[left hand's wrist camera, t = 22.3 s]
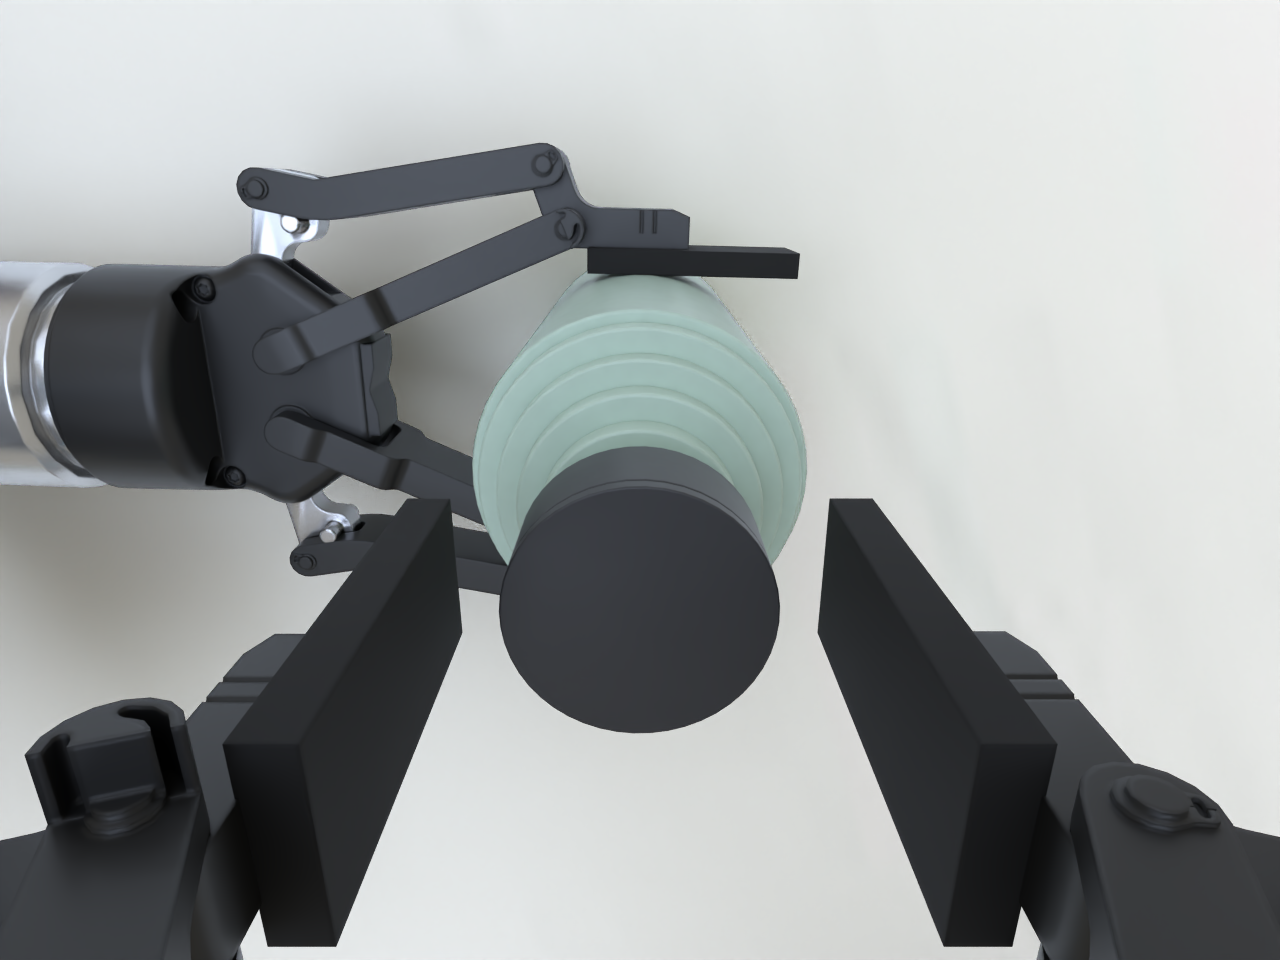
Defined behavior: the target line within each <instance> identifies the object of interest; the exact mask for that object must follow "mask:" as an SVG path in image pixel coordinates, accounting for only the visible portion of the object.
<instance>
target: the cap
mask: <svg viewBox="0 0 1280 960" xmlns="http://www.w3.org/2000/svg"><path fill="white" fill-rule="evenodd" d="M779 615H780V602H779V593H778V587H777V583H776V580H775V576H774V572H773V569H772V567H771V564H770V561H769V558H768V555H767V552H766V549H765V547H764V544H763V541H762V538H761V535H760V532H759V529H758V527H757V524H756V521H755V519H754V517H753V514H752V512H751V510H750V508H749V507H748V505H747V503H746V502H745V500H744V498H743V497H742V496H741V494H740V493H739V492H738V491H737V489H736V488H735V487H734V486H733V485H732V484H731V483H730V482H729V481H728V480H727V479H726V478H725V477H724V476H723V475H721V474H720V473H719V472H717V471H716V470H714V469H713V468H712V467H710V466H709V465H707V464H705V463H703V462H701V461H699V460H697V459H696V458H694V457H691V456H688V455H686V454H683V453H680V452H677V451H673V450H668V449H664V448H657V447H648V446H633V447H622V448H615V449H610V450H606V451H603V452H599V453H596V454H593V455H591V456H588V457H586V458H584V459H581V460H579V461H578V462H576V463H574V464H572V465H571V466H569V467H567V468H566V469H564V470H563V471H562V472H561V473H559V474H558V475H557V476H555V477H554V478H553V479H552V480H551V481H550V482H549V483H548V484H547V485H546V486H545V487H544V488H543V489H542V490H541V492H540V493H539V495H538V496H537V497H536V499H535V500H534V501H533V503H532V505H531V507H530V509H529V510H528V512H527V514H526V516H525V519H524V522H523V525H522V527H521V530H520V533H519V536H518V539H517V542H516V544H515V547H514V550H513V553H512V556H511V559H510V561H509V564H508V567H507V570H506V573H505V576H504V578H503V583H502V588H501V592H500V603H499V617H500V627H501V631H502V636H503V640H504V643H505V646H506V648H507V651H508V653H509V656H510V658H511V660H512V662H513V663H514V665H515V667H516V669H517V670H518V672H519V674H520V675H521V676H522V677H523V679H524V680H525V681H526V683H527V684H528V685H529V686H530V687H531V688H532V689H533V690H534V691H535V692H536V693H537V694H538V695H539V696H540V697H541V698H542V699H543V700H545V701H546V702H547V703H549V704H550V705H551V706H552V707H554V708H555V709H557V710H559V711H560V712H562V713H564V714H565V715H567V716H569V717H571V718H573V719H576V720H578V721H580V722H582V723H585V724H588V725H591V726H594V727H597V728H601V729H606V730H611V731H616V732H626V733H654V732H662V731H669V730H673V729H677V728H681V727H685V726H688V725H691V724H694V723H696V722H699V721H702V720H704V719H706V718H708V717H710V716H712V715H714V714H716V713H717V712H719V711H720V710H722V709H723V708H725V707H726V706H728V705H729V704H731V703H732V702H733V701H734V700H736V699H737V698H738V697H739V696H740V695H741V694H743V693H744V691H745V690H746V689H747V688H748V687H749V686H750V685H751V684H752V683H753V682H754V680H755V679H756V677H757V676H758V675H759V673H760V672H761V670H762V669H763V667H764V665H765V663H766V662H767V660H768V658H769V656H770V654H771V651H772V648H773V645H774V643H775V640H776V636H777V631H778V626H779Z"/></svg>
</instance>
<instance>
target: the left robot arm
mask: <svg viewBox="0 0 1280 960" xmlns="http://www.w3.org/2000/svg"><path fill="white" fill-rule="evenodd" d="M461 635H462V623H461V612H460V601H459V590H458V579H457V568H456V557H455V546H454V535H453V524H452V512H451V501H450V499H407V500H406V501H405V503H404V504H403V505H402V507H401V508H400V509H399V511H398V512H397V513H396V515H395V516H394V517H393V518H392V520H391V521H390V522H389V524H388V525H387V526H386V528H385V529H384V530H383V532H382V533H381V534H380V536H379V537H378V538H377V540H376V541H375V542H374V544H373V545H372V546H371V548H370V549H369V550H368V552H367V553H366V554H365V556H364V557H363V558H362V560H361V561H360V562H359V564H358V565H357V566H356V568H355V569H354V570H353V572H352V573H351V574H350V575H349V577H348V578H347V579H346V581H345V582H344V583H343V585H342V586H341V587H340V589H339V590H338V591H337V593H336V594H335V595H334V597H333V598H332V599H331V601H330V602H329V603H328V605H327V606H326V607H325V609H324V610H323V611H322V613H321V614H320V615H319V617H318V618H317V619H316V621H315V622H314V623H313V625H312V626H311V627H310V629H309V630H308V631H307V632H306V634H274V635H273V636H271V637H269V638H268V639H266V640H265V641H263V642H262V643H260V644H258V645H257V646H255V647H254V648H252V649H251V650H249V651H247V652H246V653H244V654H243V655H242V656H241V657H240V659H239V660H238V661H237V662H236V663H235V664H234V666H233V667H232V668H231V669H230V670H229V671H228V673H227V674H226V675H225V676H224V677H223V682H219V683H218V684H217V685H216V687H215V688H214V689H213V690H212V691H211V693H210V694H209V695H208V696H207V700H206V702H202V703H201V704H200V705H199V707H198V708H197V709H196V710H195V711H194V712H193V714H192V715H191V716H190V717H189V718H188V719H187V721H186V720H185V716H184V712H183V710H182V709H181V708H179V707H178V706H177V705H175V704H174V703H173V702H172V701H167V700H161V699H156V698H139V699H127V700H121V701H117V702H113V703H110V704H106V705H102V706H98V707H95V708H92V709H90V710H88V711H85V712H83V713H81V714H78V715H76V716H74V717H72V718H69V719H67V720H65V721H63V722H62V723H60V724H59V725H57V726H56V727H54V728H53V729H52V730H50V731H49V732H47V733H46V734H44V735H43V736H41V737H40V738H39V739H38V740H37V741H36V743H35V744H34V745H33V746H32V747H31V748H30V749H29V751H28V752H27V753H26V754H25V758H26V761H27V764H28V767H29V770H30V773H31V776H32V779H33V782H34V785H35V788H36V791H37V794H38V797H39V800H40V803H41V806H42V809H43V812H44V815H45V818H46V821H47V824H48V825H47V828H46V830H44V831H40V832H37V833H33V834H28V835H24V836H19V837H15V838H10V839H6V840H1V841H0V960H243V956H242V952H241V948H240V944H241V942H242V940H243V938H244V937H245V935H246V933H247V931H248V929H249V927H250V925H251V923H252V921H253V920H254V918H255V916H256V914H257V912H258V910H260V915H261V919H262V923H263V928H264V932H265V937H266V941H267V946H268V947H336V946H337V943H338V941H339V938H340V936H341V933H342V931H343V928H344V926H345V923H346V921H347V919H348V916H349V914H350V911H351V909H352V906H353V904H354V901H355V899H356V896H357V894H358V891H359V889H360V886H361V884H362V881H363V879H364V876H365V874H366V871H367V869H368V866H369V864H370V861H371V859H372V856H373V854H374V851H375V849H376V846H377V844H378V841H379V839H380V836H381V834H382V831H383V829H384V826H385V824H386V821H387V819H388V816H389V814H390V811H391V809H392V806H393V804H394V802H395V799H396V797H397V794H398V792H399V789H400V787H401V784H402V782H403V779H404V777H405V774H406V772H407V769H408V767H409V764H410V762H411V759H412V757H413V754H414V752H415V749H416V747H417V744H418V742H419V739H420V737H421V734H422V732H423V729H424V727H425V724H426V722H427V719H428V717H429V714H430V712H431V709H432V707H433V704H434V702H435V699H436V697H437V694H438V692H439V690H440V687H441V685H442V682H443V680H444V677H445V675H446V672H447V670H448V667H449V665H450V662H451V660H452V657H453V655H454V652H455V650H456V647H457V645H458V642H459V640H460V637H461ZM818 635H819V637H820V640H821V642H822V645H823V647H824V650H825V652H826V655H827V657H828V660H829V662H830V665H831V667H832V670H833V672H834V675H835V677H836V680H837V682H838V685H839V687H840V690H841V692H842V695H843V697H844V699H845V702H846V704H847V707H848V709H849V712H850V714H851V717H852V719H853V722H854V724H855V727H856V729H857V732H858V734H859V737H860V739H861V742H862V744H863V747H864V749H865V752H866V754H867V757H868V759H869V762H870V764H871V767H872V769H873V772H874V774H875V777H876V779H877V782H878V784H879V787H880V789H881V792H882V794H883V797H884V799H885V802H886V804H887V807H888V809H889V811H890V814H891V816H892V819H893V821H894V824H895V826H896V829H897V831H898V834H899V836H900V839H901V841H902V844H903V846H904V849H905V851H906V854H907V856H908V859H909V861H910V864H911V866H912V869H913V871H914V874H915V876H916V879H917V881H918V884H919V886H920V889H921V891H922V894H923V896H924V899H925V901H926V904H927V906H928V909H929V911H930V914H931V916H932V919H933V921H934V924H935V926H936V928H937V931H938V933H939V936H940V938H941V941H942V943H943V946H944V947H1012V946H1013V941H1014V937H1015V932H1016V928H1017V923H1018V919H1019V915H1020V910H1021V906H1022V908H1023V910H1024V912H1025V914H1026V916H1027V917H1028V919H1029V921H1030V923H1031V925H1032V927H1033V929H1034V931H1035V932H1036V934H1037V936H1038V938H1039V940H1040V942H1041V944H1040V948H1039V952H1038V956H1037V960H1280V837H1277V836H1272V835H1268V834H1263V833H1259V832H1254V831H1250V830H1245V829H1242V828H1238V827H1235V826H1233V824H1232V823H1231V821H1230V820H1229V819H1228V817H1227V816H1226V814H1225V813H1224V812H1223V810H1222V809H1221V808H1220V806H1219V805H1218V804H1217V803H1216V802H1214V801H1213V800H1212V799H1210V798H1209V797H1208V796H1207V795H1205V794H1204V793H1203V792H1201V791H1200V790H1199V789H1198V788H1196V787H1195V786H1193V785H1191V784H1189V783H1187V782H1185V781H1183V780H1181V779H1179V778H1177V777H1175V776H1173V775H1171V774H1169V773H1167V772H1164V771H1161V770H1157V769H1154V768H1151V767H1147V766H1144V765H1141V764H1134V763H1133V762H1132V761H1131V760H1130V759H1129V758H1128V756H1127V755H1126V754H1125V753H1124V752H1123V751H1122V749H1121V748H1120V747H1119V746H1118V745H1117V744H1116V742H1115V741H1114V740H1113V739H1112V738H1111V737H1110V735H1109V734H1108V733H1107V732H1106V731H1105V730H1104V728H1103V727H1102V726H1101V725H1100V724H1099V723H1098V722H1097V720H1096V719H1095V718H1094V717H1093V716H1092V715H1091V713H1090V712H1089V711H1088V710H1087V709H1086V708H1085V706H1084V705H1083V704H1082V703H1081V702H1080V701H1079V699H1074V694H1073V693H1072V691H1071V690H1070V689H1069V688H1068V687H1067V686H1066V684H1065V683H1064V682H1063V681H1062V680H1058V678H1057V674H1056V673H1055V672H1054V670H1053V669H1052V668H1051V667H1050V666H1049V665H1048V663H1047V662H1046V661H1045V660H1044V659H1043V658H1042V657H1041V655H1040V654H1039V653H1038V652H1037V651H1036V650H1034V649H1032V648H1031V647H1029V646H1028V645H1026V644H1025V643H1023V642H1021V641H1020V640H1018V639H1017V638H1015V637H1013V636H1012V635H1010V634H1009V633H1007V632H1005V631H972V630H971V629H970V627H969V626H968V625H967V623H966V622H965V621H964V619H963V618H962V617H961V615H960V614H959V613H958V611H957V610H956V609H955V607H954V606H953V605H952V603H951V602H950V601H949V599H948V598H947V597H946V595H945V594H944V593H943V591H942V590H941V589H940V587H939V586H938V585H937V583H936V582H935V581H934V579H933V578H932V577H931V575H930V574H929V573H928V572H927V570H926V569H925V568H924V566H923V565H922V564H921V562H920V561H919V560H918V558H917V557H916V556H915V554H914V553H913V552H912V550H911V549H910V548H909V546H908V545H907V544H906V542H905V541H904V540H903V538H902V537H901V536H900V534H899V533H898V532H897V530H896V529H895V528H894V526H893V525H892V524H891V522H890V521H889V520H888V519H887V517H886V516H885V515H884V513H883V512H882V511H881V509H880V508H879V507H878V505H877V504H876V503H875V501H874V500H873V499H830V501H829V512H828V523H827V534H826V546H825V557H824V568H823V579H822V590H821V601H820V612H819V623H818Z"/></svg>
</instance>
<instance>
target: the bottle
mask: <svg viewBox="0 0 1280 960" xmlns="http://www.w3.org/2000/svg"><path fill="white" fill-rule="evenodd" d="M633 446H648V447H657V448H664V449H668V450H673V451H677V452H680V453H683V454H686V455H688V456H691V457H694V458H696V459H697V460H699V461H701V462H703V463H705V464H707V465H709V466H710V467H712V468H713V469H714V470H716V471H717V472H719V473H720V474H721V475H723V476H724V477H725V478H726V479H727V480H728V481H729V482H730V483H731V484H732V485H733V486H734V487H735V488H736V489H737V491H738V492H739V493H740V494H741V496H742V497H743V498H744V500H745V502H746V503H747V505H748V507H749V508H750V510H751V512H752V514H753V517H754V519H755V521H756V524H757V527H758V529H759V532H760V535H761V538H762V541H763V544H764V547H765V549H766V552H767V555H768V558H769V561H770V564H771V565H772V564H773V563H774V561H775V560H776V558H777V557H778V556H779V554H780V552H781V550H782V548H783V547H784V545H785V543H786V541H787V539H788V537H789V536H790V534H791V532H792V530H793V528H794V525H795V523H796V520H797V517H798V515H799V512H800V509H801V505H802V501H803V497H804V493H805V485H806V475H807V460H806V447H805V441H804V435H803V430H802V427H801V424H800V421H799V418H798V415H797V412H796V409H795V407H794V405H793V403H792V401H791V399H790V397H789V395H788V393H787V391H786V389H785V387H784V386H783V385H782V383H781V382H780V380H779V379H778V377H777V376H776V374H775V373H774V371H773V370H772V369H771V367H770V366H769V365H768V363H767V362H766V361H765V359H764V358H763V357H762V355H761V354H760V352H759V351H758V350H757V348H756V347H755V346H754V344H753V343H752V342H751V340H750V339H749V338H748V336H747V335H746V333H745V332H744V331H743V329H742V328H741V327H740V325H739V324H738V323H737V321H736V320H735V319H734V317H733V316H732V315H731V313H730V312H729V310H728V309H727V308H726V306H725V305H724V304H723V302H722V301H721V300H720V298H719V297H718V296H717V294H716V293H715V292H714V290H713V289H712V288H711V287H710V286H709V285H708V284H707V283H706V282H705V281H704V280H703V279H702V278H701V277H700V276H661V275H621V274H587V271H586V272H585V273H584V274H583V275H581V276H580V277H579V278H577V279H576V280H575V281H574V282H573V283H572V284H571V285H570V286H569V287H568V288H567V290H566V291H565V292H564V294H563V295H562V296H561V298H560V299H559V300H558V302H557V303H556V304H555V306H554V307H553V309H552V310H551V311H550V313H549V314H548V315H547V317H546V318H545V319H544V321H543V322H542V323H541V325H540V326H539V327H538V329H537V330H536V332H535V333H534V334H533V336H532V337H531V338H530V340H529V341H528V342H527V344H526V345H525V346H524V348H523V349H522V350H521V352H520V353H519V354H518V356H517V357H516V359H515V360H514V361H513V363H512V364H511V365H510V367H509V368H508V369H507V371H506V372H505V373H504V375H503V376H502V377H501V379H500V380H499V382H498V383H497V384H496V386H495V388H494V390H493V392H492V393H491V395H490V397H489V399H488V401H487V402H486V405H485V407H484V410H483V413H482V415H481V418H480V421H479V423H478V428H477V432H476V437H475V441H474V449H473V461H472V468H473V485H474V490H475V495H476V500H477V505H478V508H479V511H480V514H481V517H482V520H483V523H484V525H485V527H486V529H487V531H488V533H489V535H490V537H491V539H492V541H493V543H494V544H495V546H496V548H497V550H498V552H499V553H500V555H501V556H502V558H503V559H504V561H505V562H506V564H507V565H508V564H509V561H510V559H511V556H512V553H513V550H514V547H515V544H516V542H517V539H518V536H519V533H520V530H521V527H522V525H523V522H524V519H525V516H526V514H527V512H528V510H529V509H530V507H531V505H532V503H533V501H534V500H535V499H536V497H537V496H538V495H539V493H540V492H541V490H542V489H543V488H544V487H545V486H546V485H547V484H548V483H549V482H550V481H551V480H552V479H553V478H554V477H555V476H557V475H558V474H559V473H561V472H562V471H563V470H564V469H566V468H567V467H569V466H571V465H572V464H574V463H576V462H578V461H579V460H581V459H584V458H586V457H588V456H591V455H593V454H596V453H599V452H603V451H606V450H610V449H615V448H622V447H633Z"/></svg>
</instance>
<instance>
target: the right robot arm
mask: <svg viewBox="0 0 1280 960" xmlns="http://www.w3.org/2000/svg"><path fill="white" fill-rule="evenodd" d="M236 185H237V191H238V194H239V196H240V198H241V200H242V201H243V202H244V203H245V204H246V205H248V206H249V207H251V208H252V237H251V254H250V255H247V256H244V257H242V258H240V259H239V260H237V261H235V262H234V263H232V264H230V265H228V266H221V267H217V266H177V265H138V264H106V265H102V266H98V267H91V266H88V265H85V264H82V263H59V262H10V261H0V484H2V485H28V486H53V487H79V488H88V487H102V486H104V485H107V484H109V485H112V486H115V487H121V488H148V489H191V490H225V489H249V490H253V491H256V492H259V493H262V494H264V495H266V496H268V497H270V498H272V499H274V500H276V501H279V502H283V503H286V504H287V507H288V510H289V513H290V516H291V519H292V522H293V525H294V528H295V531H296V534H297V537H298V540H299V545H298V546H297V547H296V548H295V549H294V550H293V551H292V552H291V555H290V564H291V566H292V567H293V569H294V570H295V571H296V572H298V573H299V574H301V575H304V576H318V575H325V574H332V573H339V572H346V571H353V570H354V569H355V568H356V566H357V565H358V564H359V562H360V561H361V560H362V558H363V557H364V556H365V554H366V553H367V552H368V550H369V549H370V548H371V546H372V545H373V544H374V542H375V541H376V540H377V538H378V537H379V536H380V534H381V533H382V532H383V530H384V529H385V528H386V526H387V525H388V524H389V522H390V521H391V520H392V518H393V517H394V516H392V515H385V514H362V515H359V510H358V508H357V507H356V506H355V505H352V504H342V503H336V502H333V501H331V500H330V499H328V498H327V497H326V496H325V494H324V492H323V489H324V488H325V487H327V486H328V485H330V484H331V483H332V482H334V481H335V480H337V479H338V478H339V477H341V476H342V475H346V476H349V477H351V478H354V479H356V480H359V481H361V482H363V483H366V484H368V485H371V486H373V487H376V488H379V489H383V490H391V489H396V490H400V491H402V492H405V493H407V494H409V495H412V496H414V497H417V498H419V499H450V501H451V512H453V513H455V514H458V515H460V516H462V517H465V518H467V519H470V520H472V521H475V522H477V523H479V524H482V525H484V523H483V520H482V517H481V514H480V511H479V508H478V505H477V500H476V495H475V490H474V485H473V468H472V461H473V458H472V457H470V456H467V455H465V454H463V453H460V452H458V451H456V450H453V449H451V448H449V447H446V446H444V445H442V444H439V443H437V442H435V441H432V440H430V439H428V438H426V437H425V436H424V434H423V433H422V432H421V431H420V430H418V429H417V428H415V427H412V426H410V425H408V424H405V423H403V422H401V421H398V417H397V406H396V398H395V395H394V392H393V390H392V387H391V384H390V381H389V378H388V375H389V370H390V365H391V359H392V347H391V335H390V334H385V333H384V329H386V328H388V327H390V326H393V325H395V324H397V323H399V322H402V321H404V320H406V319H409V318H411V317H413V316H415V315H418V314H420V313H422V312H425V311H427V310H429V309H432V308H434V307H436V306H439V305H441V304H443V303H446V302H448V301H450V300H453V299H455V298H457V297H460V296H462V295H464V294H467V293H469V292H471V291H474V290H476V289H478V288H481V287H483V286H485V285H488V284H490V283H492V282H495V281H497V280H499V279H502V278H504V277H506V276H508V275H511V274H513V273H515V272H518V271H520V270H522V269H525V268H527V267H529V266H532V265H534V264H536V263H539V262H541V261H543V260H546V259H548V258H550V257H553V256H555V255H557V254H560V253H562V252H564V251H567V250H569V249H573V248H587V274H621V275H661V276H701V277H741V278H780V279H798V269H799V258H800V254H799V253H797V252H794V251H792V250H789V249H787V248H775V247H736V246H697V245H689V227H690V217H688V216H686V215H684V214H682V213H680V212H678V211H675V210H673V209H651V208H612V207H596V206H593V205H591V204H589V203H588V202H586V201H585V200H584V199H583V198H582V196H581V195H580V193H579V191H578V189H577V186H576V183H575V180H574V177H573V174H572V171H571V168H570V163H569V160H568V157H567V156H566V155H565V153H564V152H563V151H562V150H560V149H558V148H556V147H554V146H552V145H550V144H548V143H536V144H530V145H524V146H518V147H511V148H505V149H499V150H493V151H487V152H481V153H475V154H468V155H462V156H456V157H450V158H444V159H438V160H432V161H425V162H419V163H413V164H407V165H401V166H395V167H389V168H382V169H376V170H370V171H364V172H358V173H352V174H346V175H339V176H333V177H323V176H319V175H314V174H309V173H305V172H300V171H295V170H289V169H272V168H248V169H245V170H243V171H242V172H241V174H240V175H239V176H238V180H237V184H236ZM530 190H533V191H534V193H535V196H536V199H537V202H538V205H539V207H540V210H541V213H542V216H541V217H539V218H536V219H534V220H532V221H530V222H527V223H525V224H523V225H520V226H518V227H516V228H514V229H511V230H509V231H507V232H504V233H502V234H500V235H498V236H495V237H493V238H491V239H488V240H486V241H484V242H482V243H479V244H477V245H475V246H473V247H470V248H468V249H466V250H463V251H461V252H459V253H457V254H454V255H452V256H450V257H447V258H445V259H443V260H441V261H438V262H436V263H434V264H431V265H429V266H427V267H425V268H422V269H420V270H418V271H416V272H413V273H411V274H409V275H406V276H404V277H402V278H400V279H397V280H395V281H393V282H390V283H388V284H386V285H384V286H381V287H379V288H377V289H374V290H372V291H369V292H367V293H365V294H362V295H360V296H358V297H355V298H353V299H351V298H350V297H349V296H347V295H346V294H344V293H343V292H341V291H340V290H339V289H337V288H336V287H334V286H333V285H332V284H330V283H329V282H327V281H326V280H325V279H323V278H322V277H320V276H319V275H317V274H316V273H315V272H313V271H312V270H310V269H309V268H308V267H306V266H305V265H303V264H302V263H300V262H299V261H298V260H296V259H295V258H294V253H295V250H296V248H297V247H298V246H299V245H300V244H301V243H303V242H308V241H314V240H319V239H321V238H323V237H324V236H325V235H326V233H327V231H328V228H329V220H335V219H346V218H356V217H367V216H373V215H379V214H386V213H392V212H398V211H404V210H411V209H417V208H423V207H429V206H436V205H442V204H448V203H454V202H461V201H467V200H473V199H479V198H486V197H492V196H498V195H504V194H511V193H517V192H523V191H530ZM484 526H485V525H484ZM453 535H454V546H455V557H456V568H457V579H458V588H463V589H469V590H474V591H480V592H486V593H491V594H497V595H500V592H501V588H502V583H503V578H504V576H505V573H506V570H507V567H508V565H507V564H506V562H505V561H504V559H503V558H502V556H501V555H500V553H499V552H498V550H497V548H496V546H495V544H494V543H493V541H492V539H491V537H490V535H489V533H487V532H482V531H476V530H470V529H465V528H459V527H454V526H453Z"/></svg>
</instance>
